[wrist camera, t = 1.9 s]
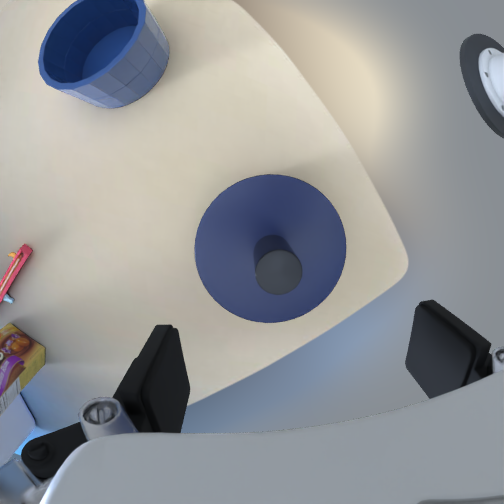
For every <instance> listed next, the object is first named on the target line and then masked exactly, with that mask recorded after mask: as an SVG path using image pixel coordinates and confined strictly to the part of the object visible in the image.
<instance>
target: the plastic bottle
mask: <svg viewBox="0 0 504 504" xmlns="http://www.w3.org/2000/svg"><path fill="white" fill-rule="evenodd" d="M34 428H35V420H34V418H33V416H32V415H31V413H30V411H29V409H28V408H27V406H26V404H25V402H24V400H23V398H22V397H21V395H20V393H19V394H18V395H17V397H16V398H15V399H14V400H13V401H12V403H11V404H10V405H9V406H8V407H7V409H6V410H5V411H4V412H3V413H2V415H1V416H0V467H1V466H3V465H5V463H6V462H7V461H8V460H9V458H10V457H11V456H12V455H13V453H14V452H15V451H16V450H17V449H18V447H19V446H20V445H21V444H22V443H23V441H24V440H25V439H26V438H27V437H28V436H29V434H30V433H31V432H32V431H33V430H34Z"/></svg>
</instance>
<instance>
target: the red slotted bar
mask: <svg viewBox="0 0 504 504" xmlns="http://www.w3.org/2000/svg"><path fill="white" fill-rule="evenodd" d="M32 251H33V250H32V249H30V248H29V247H28V246H27V245H26V244H24V245H23V246H22V247H21V248H20V249H19V251H18V253H17V254H16V253H14V252H11V253H10V254H9V255H8V256H12V257H13V258H14V259H13V261H12V263H11V264H10V266H9V268H8V270H7V271H6V273H5V275H4V277H3V279H2V280H1V282H0V303H1V301H2V299H3V300H5V301H7V302H9V303H11V304H12V303H13V300H14V299H13V298H11V297H9V296H8V294H6V293H7V291H8V289H9V287H10V286H11V284H12V282H13V281H14V279H15V277H16V276H17V274H18V272H19V271H20V269H21V268H22V266H23V264H24V263H25V261H26V260H27V258H28V257H29V255H30V254H31V252H32ZM22 252H23V254H22V255H21V253H22ZM24 254H25V255H24ZM23 255H24V256H23ZM3 297H4V298H3Z"/></svg>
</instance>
